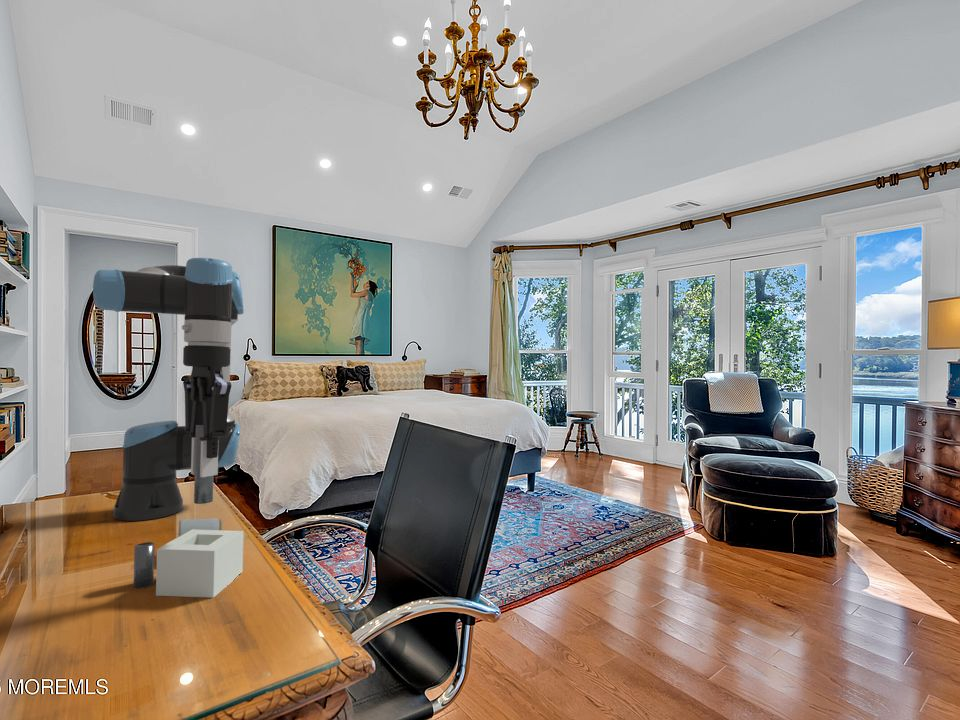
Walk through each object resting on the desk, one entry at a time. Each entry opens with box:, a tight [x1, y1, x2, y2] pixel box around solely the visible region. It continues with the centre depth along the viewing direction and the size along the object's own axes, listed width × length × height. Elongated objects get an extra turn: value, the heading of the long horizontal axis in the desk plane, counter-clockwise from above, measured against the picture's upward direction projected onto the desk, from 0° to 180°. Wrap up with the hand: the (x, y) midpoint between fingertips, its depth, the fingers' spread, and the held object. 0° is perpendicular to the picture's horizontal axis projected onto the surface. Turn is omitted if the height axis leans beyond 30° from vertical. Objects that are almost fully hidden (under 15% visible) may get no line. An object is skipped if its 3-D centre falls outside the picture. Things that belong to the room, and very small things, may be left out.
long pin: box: [193, 424, 214, 505], centre depth 90 cm, size 3×3×14 cm
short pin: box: [132, 541, 156, 589], centre depth 90 cm, size 3×3×7 cm
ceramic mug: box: [177, 517, 224, 538], centre depth 105 cm, size 11×8×8 cm
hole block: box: [155, 529, 245, 599], centre depth 90 cm, size 10×10×8 cm
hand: (204, 473), depth 90 cm, fingers closed on long pin, 3 cm apart
